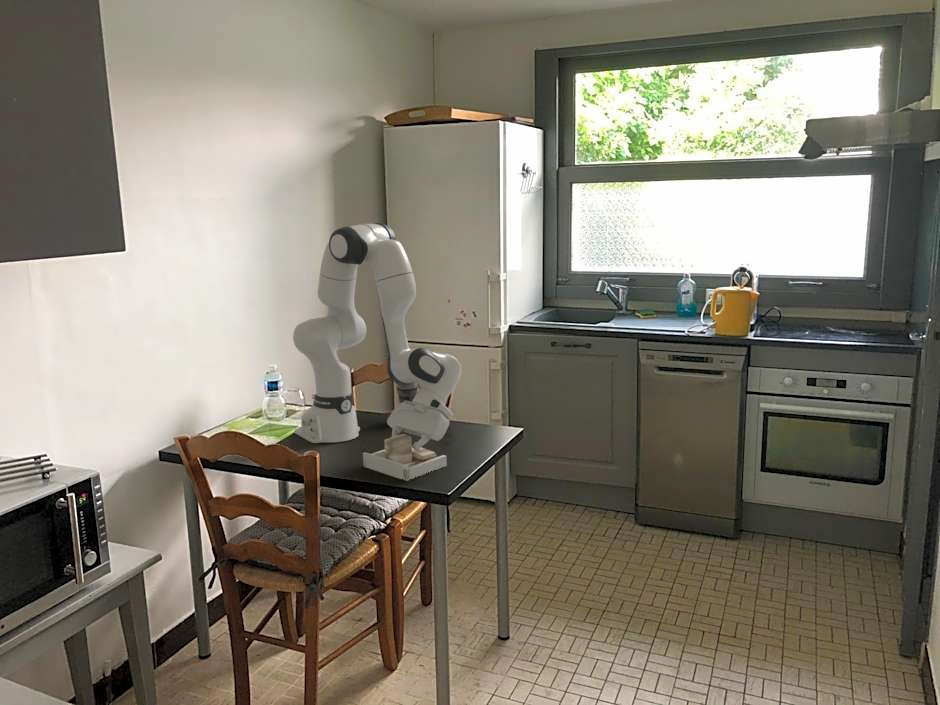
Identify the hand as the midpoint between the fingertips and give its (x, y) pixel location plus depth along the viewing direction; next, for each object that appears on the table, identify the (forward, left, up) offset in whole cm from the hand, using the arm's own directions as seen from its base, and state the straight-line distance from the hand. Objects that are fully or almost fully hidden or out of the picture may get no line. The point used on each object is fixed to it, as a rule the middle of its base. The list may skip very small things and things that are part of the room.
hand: (403, 446), depth 221 cm
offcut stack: (0, +5, -6) cm, 8 cm away
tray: (0, 0, -6) cm, 6 cm away
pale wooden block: (0, -2, -6) cm, 6 cm away
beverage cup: (-33, +33, -6) cm, 47 cm away
